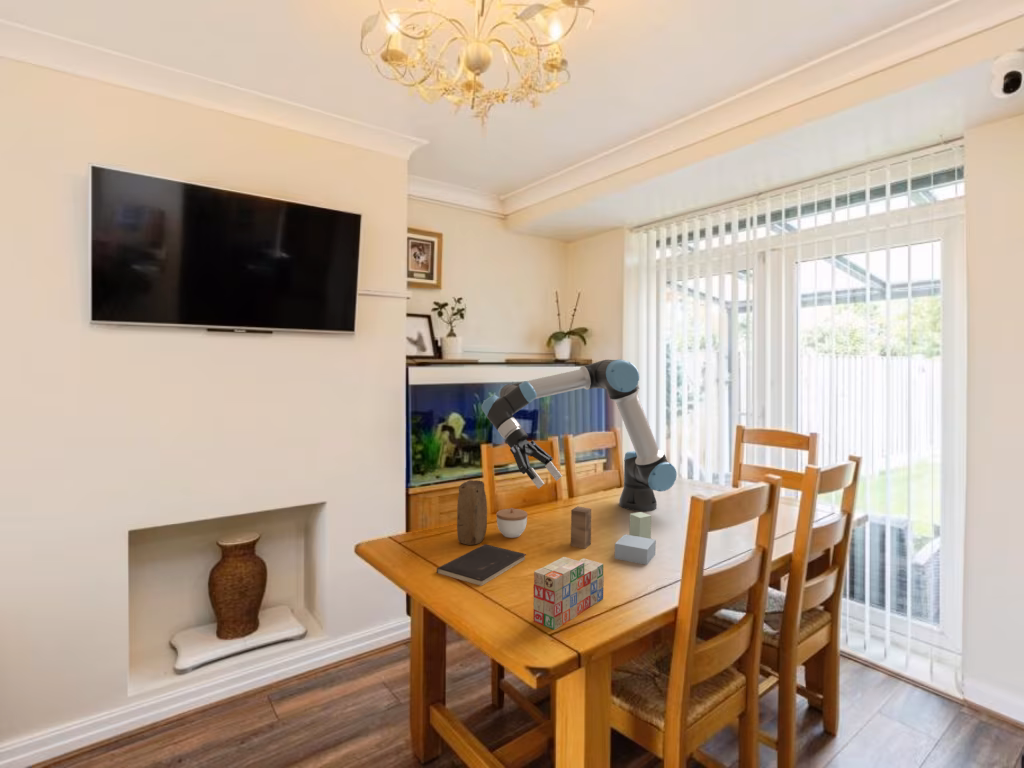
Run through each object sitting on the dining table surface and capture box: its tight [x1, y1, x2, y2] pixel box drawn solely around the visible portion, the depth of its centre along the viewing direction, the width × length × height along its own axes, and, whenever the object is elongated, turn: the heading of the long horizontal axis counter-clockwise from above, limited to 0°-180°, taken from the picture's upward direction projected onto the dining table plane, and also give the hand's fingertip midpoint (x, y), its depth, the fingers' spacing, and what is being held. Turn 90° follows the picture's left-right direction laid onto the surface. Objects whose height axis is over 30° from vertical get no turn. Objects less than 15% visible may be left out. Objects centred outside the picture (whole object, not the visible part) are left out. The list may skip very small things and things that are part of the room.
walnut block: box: [570, 506, 592, 550], centre depth 176 cm, size 5×5×12 cm
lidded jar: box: [495, 507, 528, 539], centre depth 185 cm, size 11×11×9 cm
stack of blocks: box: [533, 556, 605, 631], centre depth 131 cm, size 21×6×12 cm, turn 139°
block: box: [456, 479, 488, 546], centre depth 179 cm, size 11×8×20 cm
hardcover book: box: [436, 544, 527, 587], centre depth 158 cm, size 16×23×2 cm
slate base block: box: [614, 533, 657, 566], centre depth 167 cm, size 10×10×5 cm
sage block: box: [628, 511, 652, 539], centre depth 180 cm, size 5×5×9 cm
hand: (550, 482), depth 180 cm, fingers open, 13 cm apart
